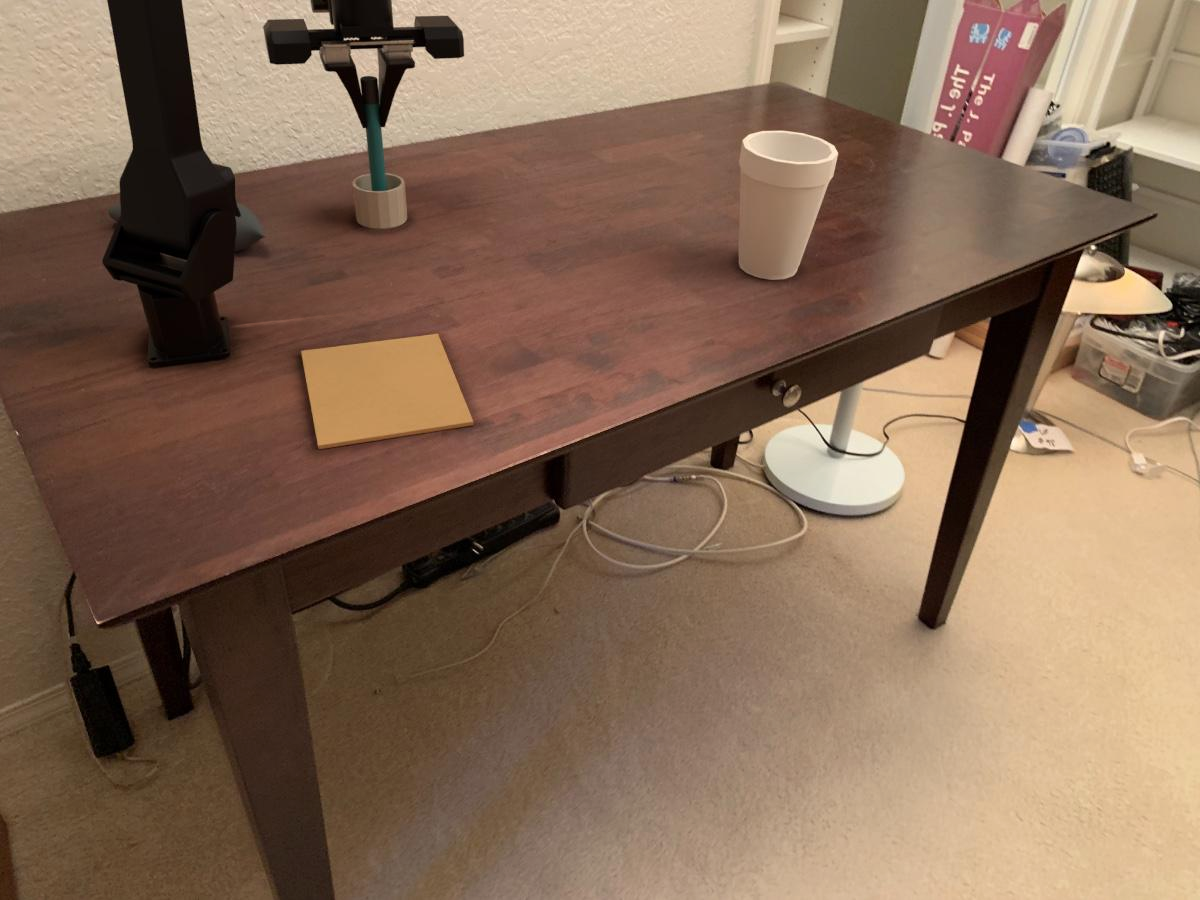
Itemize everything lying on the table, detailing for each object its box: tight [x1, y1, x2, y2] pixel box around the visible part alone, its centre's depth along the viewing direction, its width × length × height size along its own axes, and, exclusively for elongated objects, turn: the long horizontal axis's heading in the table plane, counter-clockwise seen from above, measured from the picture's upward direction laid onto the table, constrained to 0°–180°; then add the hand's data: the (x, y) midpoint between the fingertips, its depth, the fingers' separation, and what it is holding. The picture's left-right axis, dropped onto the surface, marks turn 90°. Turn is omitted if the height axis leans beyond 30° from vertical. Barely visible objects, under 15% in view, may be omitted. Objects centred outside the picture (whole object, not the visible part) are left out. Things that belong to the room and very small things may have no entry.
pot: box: [351, 172, 408, 230], centre depth 101 cm, size 6×6×4 cm
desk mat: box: [300, 333, 474, 450], centre depth 76 cm, size 14×12×1 cm
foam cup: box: [738, 130, 839, 281], centre depth 95 cm, size 10×9×13 cm
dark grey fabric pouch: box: [107, 202, 266, 253], centre depth 94 cm, size 20×5×5 cm, turn 77°
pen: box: [359, 75, 387, 191], centre depth 96 cm, size 2×2×12 cm
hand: (373, 126), depth 96 cm, fingers closed on pen, 1 cm apart
